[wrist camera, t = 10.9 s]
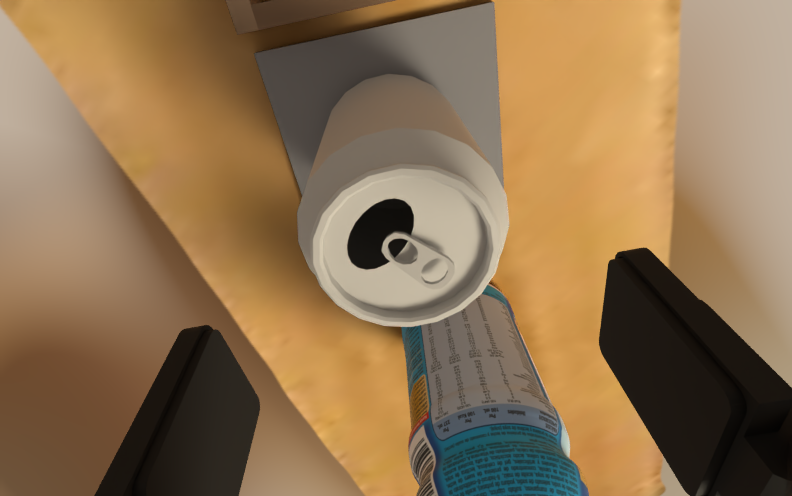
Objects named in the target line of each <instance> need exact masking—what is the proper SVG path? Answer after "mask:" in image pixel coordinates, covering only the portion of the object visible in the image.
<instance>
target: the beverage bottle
mask: <svg viewBox="0 0 792 496" xmlns="http://www.w3.org/2000/svg"><path fill="white" fill-rule="evenodd" d="M402 338H403V343H404V349H405V356H406V366H407V378H408V391H409V404H410V417H411V433H410V437H409V459H410V465H411V469H412V472H413V475H414V477H415V479H416V480H417V482H418V484H419V485H420V488H419V490H418V493H417V496H589V493H588V488H587V484H586V481H585V478H584V476H583V474H582V472H581V470H580V469H579V468H578V466H577V465H576V464H575V463H574V462H573V461H572V460H570V459H569V453H570V442H569V437H568V433H567V430H566V428H565V425H564V423H563V420H562V418H561V416H560V415H559V413H558V412H557V410H556V409H555V408H554V407H553V405H552V403H551V401H550V398H549V396H548V394H547V392H546V389H545V387H544V385H543V382H542V380H541V378H540V376H539V373H538V371H537V369H536V366H535V364H534V362H533V360H532V357H531V355H530V353H529V350H528V348H527V346H526V343H525V341H524V339H523V337H522V334H521V332H520V330H519V327H518V325H517V323H516V321H515V316H514V313H513V311H512V308H511V306H510V304H509V302H508V300H507V298H506V297H505V296H504V295H503V293H502V292H500V291H499V290H498V289H497V288H496V287H494V286H492V285H491V284H489V283H488V285H487V286H486V288H485V289H484V291H483V292H482V294H480V295H479V296H478V297H477V298H476V299H474V300H473V301H472V302H471V303H470V304H468V305H467V306H466V307H465V308H464V309H462V310H461V311H459V312H457V313H455V314H453V315H450V316H448V317H446V318H444V319H442V320H440V321H438V322H433V323H428V324H423V325H418V326H413V327H402Z"/></svg>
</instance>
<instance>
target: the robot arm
mask: <svg viewBox="0 0 792 496" xmlns="http://www.w3.org/2000/svg"><path fill="white" fill-rule="evenodd" d="M599 346H600V350H601V352H602V355H603V357H604V358H605V360H606V362H607V363H608V365H609V367H610V368H611V370H612V371H613V373H614V375H615V376H616V378H617V380H618V381H619V383H620V385H621V386H622V388H623V390H624V391H625V393H626V395H627V396H628V398H629V400H630V401H631V403H632V405H633V406H634V408H635V410H636V411H637V413H638V415H639V416H640V418H641V419H642V421H643V423H644V424H645V426H646V428H647V429H648V431H649V433H650V434H651V436H652V438H653V439H654V441H655V443H656V444H657V446H658V448H659V449H660V451H661V453H662V454H663V456H664V458H665V459H666V461H667V463H668V464H669V466H670V468H671V469H672V471H673V472H674V474H675V476H676V477H677V479H678V481H679V482H680V484H681V486H682V487H683V489H684V490H685V492H686V493H687V494H689V495H690V496H792V388H791V387H790V386H789V385H788V384H787V383H786V382H785V381H784V380H783V379H782V378H781V377H780V376H779V375H778V374H777V373H776V372H775V371H774V370H773V369H772V368H771V367H770V366H769V365H768V364H767V363H766V362H765V361H764V360H763V359H762V358H761V357H760V356H759V355H758V354H757V353H756V352H755V351H754V350H753V349H752V348H751V347H750V346H749V345H748V344H747V343H746V342H745V341H744V340H743V339H742V338H741V337H740V336H738V334H737V333H736V332H734V330H733V329H732V328H731V327H730V326H729V325H728V324H727V323H726V322H725V321H724V320H722V319H721V317H720V316H718V315H717V313H716V312H715V311H714V310H713V309H711V307H709V306H708V305H707V304H706V303H705V302H703V301H702V300H699V299H698V298H697V297H696V296H695V295H694V294H693V293H692V292H691V291H690V290H689V289H688V288H687V287H686V286H685V285H684V284H683V283H682V282H681V281H680V280H679V279H678V278H677V277H676V276H675V275H674V274H673V273H672V272H671V271H670V270H669V269H668V268H667V267H666V266H665V265H664V264H663V263H662V262H661V261H660V260H659V259H658V258H657V257H656V256H655V255H654V254H653V253H652V252H651V251H650V250H649V249H647V248H639V249H633V250H627V251H622V252H618V253H617V254H616V256H615V259H613V260H610V261H609V264H608V271H607V279H606V287H605V295H604V303H603V311H602V320H601V328H600V336H599ZM259 411H260V402H259V398H258V396H257V394H256V393H255V391H254V389H253V388H252V386H251V384H250V383H249V381H248V379H247V377H246V376H245V374H244V372H243V370H242V369H241V367H240V365H239V364H238V362H237V360H236V359H235V357H234V355H233V353H232V352H231V350H230V348H229V347H228V345H227V343H226V341H225V340H224V338H223V336H222V335H221V333H220V332H219V331H218V330H213V329H212V328H211V327H210V326H209V325H204V326H199V327H194V328H187V329H184V330H182V331H181V332H180V333H179V335H178V337H177V339H176V341H175V343H174V345H173V346H172V348H171V350H170V352H169V354H168V356H167V358H166V360H165V362H164V364H163V366H162V368H161V369H160V371H159V373H158V375H157V377H156V379H155V381H154V383H153V385H152V387H151V389H150V390H149V392H148V394H147V396H146V398H145V400H144V402H143V404H142V406H141V408H140V410H139V411H138V413H137V415H136V417H135V419H134V421H133V423H132V425H131V427H130V429H129V431H128V432H127V434H126V436H125V438H124V440H123V442H122V444H121V446H120V448H119V450H118V452H117V453H116V455H115V457H114V459H113V461H112V463H111V465H110V467H109V469H108V471H107V473H106V475H105V476H104V479H103V480H102V482H101V484H100V486H99V488H98V490H97V492H96V494H95V496H239V492H240V487H241V483H242V480H243V475H244V472H245V468H246V464H247V460H248V456H249V452H250V448H251V443H252V440H253V436H254V432H255V428H256V424H257V420H258V416H259Z"/></svg>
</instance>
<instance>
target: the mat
mask: <svg viewBox="0 0 792 496" xmlns="http://www.w3.org/2000/svg"><path fill="white" fill-rule="evenodd" d="M254 55H255V58H256V61H257V64H258V67H259V70H260V73H261V76H262V79H263V82H264V85H265V88H266V91H267V94H268V97H269V100H270V103H271V106H272V109H273V111H274V114H275V117H276V120H277V123H278V126H279V129H280V132H281V135H282V138H283V141H284V144H285V147H286V150H287V153H288V156H289V159H290V162H291V165H292V168H293V171H294V174H295V177H296V180H297V183H298V186H299V188H300V191H301V194H302V196H303V193H304V190H305V187H306V184H307V181H308V179H309V176H310V173H311V170H312V167H313V164H314V161H315V158H316V155H317V152H318V149H319V146H320V143H321V140H322V137H323V134H324V131H325V128H326V125H327V122H328V119H329V117H330V114H331V111H332V109H333V108H334V107H335V105H336V104H337V103H338V101H339V100H340V99H341V98H342V96H343V95H344V94H345V92H347V91H348V90H350V89H351V88H353V87H354V86H356V85H357V84H359V83H360V82H362V81H364V80H365V79H369V78H373V77H377V76H381V75H385V74H397V75H408V76H413V77H415V78H417V79H419V80H422V81H424V82H426V83H428V84H430V85H433V86H434V87H435V88H436V89H437V90H438V91H439V92H440V93H441V94H442V95H443V96H444V97H445V98H446V99H447V100H448V101H449V102H450V104H451V105H452V107H453V108H454V110H455V111H456V113H457V114H458V116H459V117H460V119H461V120H462V122H463V123H464V125H465V126H466V128H467V129H468V131H469V132H470V134H471V135H472V137H473V139H474V140H475V142H476V143H477V145H478V146H479V148H480V149H481V151H482V152H483V154H484V155H485V157H486V158H487V160H488V161H489V163H490V164H491V166H492V167H493V169H494V171H495V173H496V175H497V177H498V179H499V181H500V183H501V185H502V187H503V189H504V182H503V163H502V143H501V124H500V105H499V86H498V67H497V47H496V28H495V9H494V2H488V3H484V4H479V5H474V6H470V7H465V8H460V9H456V10H451V11H446V12H442V13H437V14H433V15H428V16H423V17H419V18H414V19H409V20H405V21H400V22H395V23H391V24H386V25H381V26H377V27H372V28H367V29H363V30H358V31H353V32H349V33H344V34H339V35H335V36H330V37H325V38H321V39H316V40H312V41H307V42H302V43H298V44H293V45H288V46H284V47H279V48H274V49H270V50H265V51H260V52H256V53H254Z"/></svg>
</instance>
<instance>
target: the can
mask: <svg viewBox="0 0 792 496" xmlns="http://www.w3.org/2000/svg"><path fill="white" fill-rule="evenodd" d="M297 223H298V243H299V245H300V247H301V250H302V252H303V255H304V257H305V259H306V262H307V264H308V267H309V269H310V270H311V271H312V272H313V273H314V274H315V275H316V277H317V280H318V282H319V285H320V287H321V288H322V289H323V290H324V291H325V292H326V293H327V295H328V296H329V297H330V298H331V299H332V300H333V301H334V302H335V304H336V305H337V306H339V307H341V308H342V309H344V310H346V311H347V312H349V313H351V314H352V315H354V316H355V317H357V318H359V319H362V320H365V321H369V322H372V323H376V324H379V325H383V326H399V327H413V326H418V325H423V324H428V323H433V322H438V321H440V320H442V319H444V318H446V317H448V316H450V315H453V314H455V313H457V312H459V311H461V310H462V309H464V308H465V307H466V306H467V305H468V304H470V303H471V302H472V301H473V300H474V299H476V298H477V297H478V296H479V295H480V294H482V292H483V291H484V289H485V288H486V286H487V285H488V283H489V282H490V280H491V279H492V277H493V276H494V274H495V273H496V269H497V266H498V262H499V258H500V255H501V253H502V250H503V247H504V243H505V239H506V235H507V232H508V228H509V217H508V206H507V195H506V193H505V191H504V189H503V187H502V185H501V183H500V181H499V179H498V177H497V175H496V173H495V171H494V169H493V167H492V166H491V164H490V163H489V161H488V160H487V158H486V157H485V155H484V154H483V152H482V151H481V149H480V148H479V146H478V145H477V143H476V142H475V140H474V139H473V137H472V135H471V134H470V132H469V131H468V129H467V128H466V126H465V125H464V123H463V122H462V120H461V119H460V117H459V116H458V114H457V113H456V111H455V110H454V108H453V107H452V105H451V104H450V102H449V101H448V100H447V99H446V98H445V97H444V96H443V95H442V94H441V93H440V92H439V91H438V90H437V89H436V88H435V87H434V86H433V85H430V84H428V83H426V82H424V81H422V80H419V79H417V78H415V77H413V76H408V75H397V74H385V75H381V76H377V77H373V78H369V79H365V80H364V81H362V82H360V83H359V84H357V85H356V86H354V87H353V88H351V89H350V90H348V91H347V92H345V94H344V95H343V96H342V98H341V99H340V100H339V101H338V103H337V104H336V105H335V107H334V108H333V109H332V111H331V114H330V117H329V119H328V122H327V125H326V128H325V131H324V134H323V137H322V140H321V143H320V146H319V149H318V152H317V155H316V158H315V161H314V164H313V167H312V170H311V173H310V176H309V179H308V181H307V184H306V187H305V190H304V193H303V196H302V199H301V202H300V205H299V208H298V211H297Z"/></svg>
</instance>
